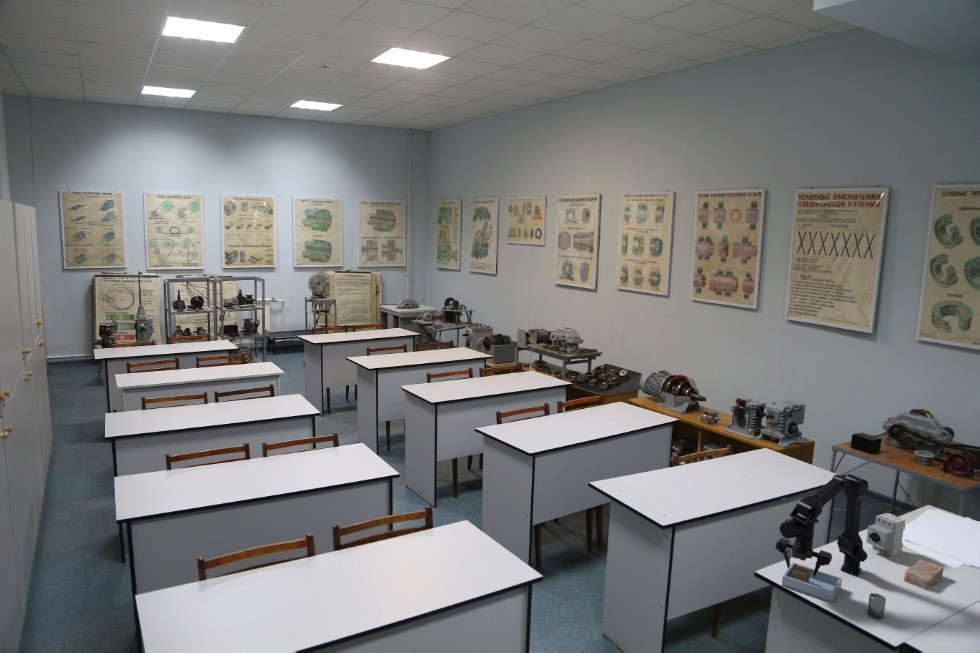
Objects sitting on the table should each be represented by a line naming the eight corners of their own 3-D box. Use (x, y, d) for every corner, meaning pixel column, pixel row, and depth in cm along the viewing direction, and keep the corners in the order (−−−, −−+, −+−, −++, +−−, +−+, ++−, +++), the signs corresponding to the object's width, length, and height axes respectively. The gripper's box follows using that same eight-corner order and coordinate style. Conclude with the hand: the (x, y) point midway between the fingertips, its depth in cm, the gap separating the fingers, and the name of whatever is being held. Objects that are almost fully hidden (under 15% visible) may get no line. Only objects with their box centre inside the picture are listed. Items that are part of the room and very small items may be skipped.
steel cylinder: (868, 609, 229) (870, 591, 228) (884, 615, 225) (887, 597, 224) (865, 615, 225) (868, 597, 224) (882, 621, 222) (884, 603, 221)
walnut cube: (795, 576, 249) (796, 564, 248) (808, 581, 246) (810, 569, 245) (791, 581, 245) (792, 569, 244) (805, 586, 242) (806, 574, 241)
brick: (927, 591, 242) (928, 579, 241) (902, 581, 249) (904, 570, 248) (942, 578, 252) (944, 566, 251) (918, 568, 259) (920, 558, 258)
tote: (791, 571, 254) (792, 562, 253) (841, 587, 242) (842, 578, 242) (781, 585, 243) (782, 575, 243) (832, 603, 232) (834, 593, 231)
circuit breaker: (862, 551, 271) (866, 518, 269) (884, 545, 277) (888, 512, 275) (879, 559, 264) (884, 525, 262) (901, 553, 270) (906, 519, 268)
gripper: (773, 533, 242) (769, 571, 244) (827, 549, 230) (822, 589, 233) (781, 523, 251) (778, 560, 253) (834, 538, 239) (830, 577, 241)
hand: (801, 571), depth 245 cm, fingers open, 9 cm apart
